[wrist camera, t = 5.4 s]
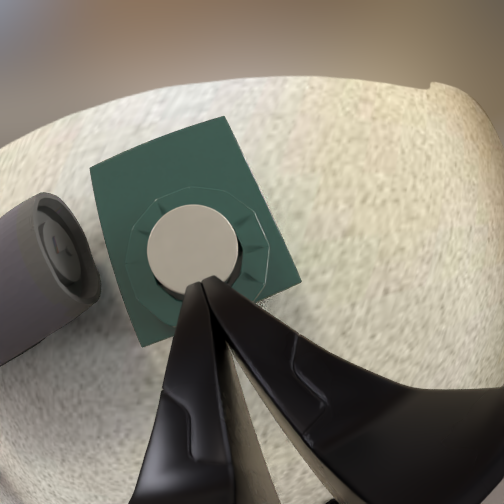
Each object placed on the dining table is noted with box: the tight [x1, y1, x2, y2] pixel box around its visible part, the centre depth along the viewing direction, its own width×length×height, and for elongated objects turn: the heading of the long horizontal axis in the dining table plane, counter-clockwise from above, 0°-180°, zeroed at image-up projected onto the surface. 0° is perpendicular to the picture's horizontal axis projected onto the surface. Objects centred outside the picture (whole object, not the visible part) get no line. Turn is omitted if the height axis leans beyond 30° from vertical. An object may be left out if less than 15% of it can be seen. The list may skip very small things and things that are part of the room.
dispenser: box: [90, 116, 302, 347], centre depth 17 cm, size 11×9×9 cm
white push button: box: [147, 205, 238, 295], centre depth 11 cm, size 4×4×2 cm
